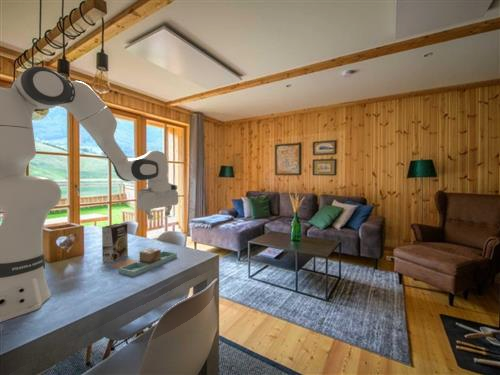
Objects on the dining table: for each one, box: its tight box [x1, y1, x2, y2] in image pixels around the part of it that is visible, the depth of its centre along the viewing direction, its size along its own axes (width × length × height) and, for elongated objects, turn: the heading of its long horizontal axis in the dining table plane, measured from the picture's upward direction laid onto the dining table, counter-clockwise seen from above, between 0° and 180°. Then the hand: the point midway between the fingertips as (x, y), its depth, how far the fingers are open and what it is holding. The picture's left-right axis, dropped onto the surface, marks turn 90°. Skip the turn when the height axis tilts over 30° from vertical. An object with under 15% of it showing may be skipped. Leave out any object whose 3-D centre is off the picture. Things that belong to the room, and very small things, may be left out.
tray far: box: [161, 250, 178, 264], centre depth 110 cm, size 8×8×2 cm
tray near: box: [118, 262, 151, 278], centre depth 96 cm, size 8×8×2 cm
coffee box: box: [101, 223, 129, 263], centre depth 110 cm, size 9×6×16 cm
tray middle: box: [137, 258, 165, 270], centre depth 103 cm, size 8×8×2 cm
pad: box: [111, 258, 139, 269], centre depth 103 cm, size 9×9×1 cm
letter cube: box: [139, 247, 162, 264], centre depth 103 cm, size 6×6×6 cm
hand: (159, 217), depth 109 cm, fingers open, 8 cm apart
